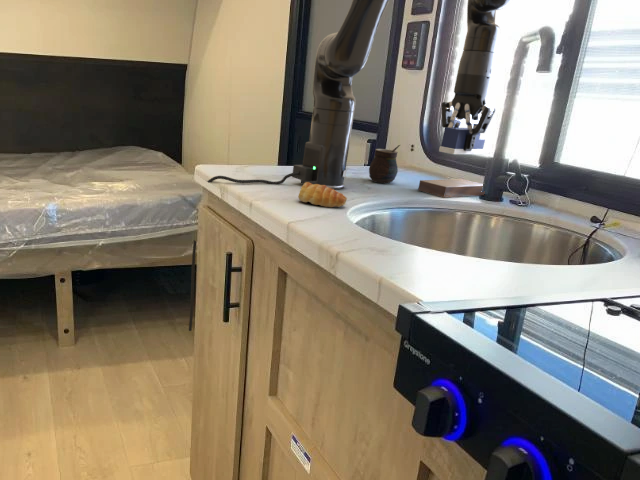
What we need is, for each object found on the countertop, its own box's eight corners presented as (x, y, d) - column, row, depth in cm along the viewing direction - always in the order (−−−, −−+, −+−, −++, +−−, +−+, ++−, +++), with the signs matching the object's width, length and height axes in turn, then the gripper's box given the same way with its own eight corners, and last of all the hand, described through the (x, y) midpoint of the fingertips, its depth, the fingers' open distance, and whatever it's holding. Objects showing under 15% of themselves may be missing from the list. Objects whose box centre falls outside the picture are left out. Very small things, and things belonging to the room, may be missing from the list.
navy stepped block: (453, 154, 140) (458, 129, 138) (438, 151, 143) (443, 127, 141) (483, 154, 145) (488, 130, 143) (468, 151, 149) (473, 128, 147)
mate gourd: (376, 178, 159) (383, 139, 155) (401, 183, 154) (409, 144, 150) (361, 180, 154) (367, 140, 150) (386, 186, 149) (394, 144, 145)
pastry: (349, 205, 122) (352, 186, 121) (339, 210, 117) (342, 191, 115) (306, 197, 126) (308, 179, 125) (294, 202, 120) (297, 183, 119)
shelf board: (443, 197, 140) (445, 186, 139) (417, 190, 147) (419, 180, 146) (486, 195, 149) (489, 185, 148) (460, 188, 155) (462, 178, 154)
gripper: (439, 70, 141) (425, 144, 147) (491, 73, 129) (473, 154, 136) (460, 72, 144) (445, 145, 151) (512, 76, 133) (494, 154, 140)
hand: (458, 148), depth 143 cm, fingers closed on navy stepped block, 4 cm apart
